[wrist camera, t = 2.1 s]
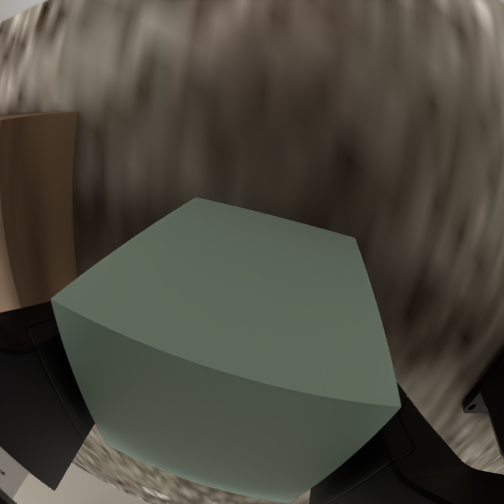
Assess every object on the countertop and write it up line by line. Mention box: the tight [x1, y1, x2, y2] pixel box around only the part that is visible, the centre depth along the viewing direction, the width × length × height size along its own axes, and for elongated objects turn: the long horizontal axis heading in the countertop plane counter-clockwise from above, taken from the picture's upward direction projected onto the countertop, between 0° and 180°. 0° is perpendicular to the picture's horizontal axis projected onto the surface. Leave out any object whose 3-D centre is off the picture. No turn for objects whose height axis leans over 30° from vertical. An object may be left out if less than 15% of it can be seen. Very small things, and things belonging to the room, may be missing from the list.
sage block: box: [51, 197, 401, 503], centre depth 7 cm, size 5×5×6 cm
